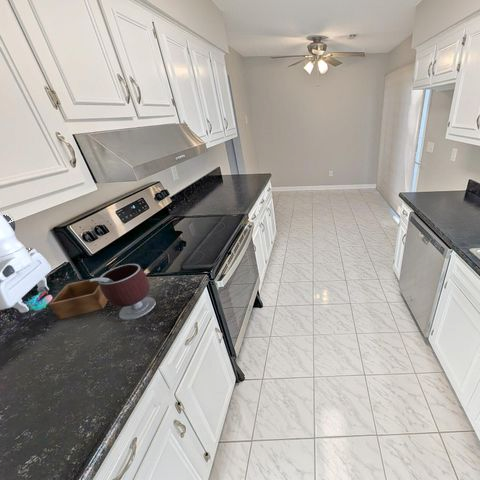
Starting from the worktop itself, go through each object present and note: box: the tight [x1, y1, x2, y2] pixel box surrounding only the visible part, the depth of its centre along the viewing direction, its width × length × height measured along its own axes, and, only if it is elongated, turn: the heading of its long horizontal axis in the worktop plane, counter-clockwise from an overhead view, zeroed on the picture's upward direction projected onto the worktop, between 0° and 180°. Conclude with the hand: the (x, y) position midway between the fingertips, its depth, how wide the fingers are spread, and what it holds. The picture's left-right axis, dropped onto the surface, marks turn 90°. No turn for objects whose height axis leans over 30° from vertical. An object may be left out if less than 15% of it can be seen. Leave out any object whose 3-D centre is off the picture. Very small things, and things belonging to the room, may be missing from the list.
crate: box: [48, 278, 109, 320], centre depth 104 cm, size 15×14×8 cm
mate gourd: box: [88, 263, 157, 321], centre depth 95 cm, size 16×14×20 cm
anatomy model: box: [22, 291, 53, 312], centre depth 75 cm, size 5×8×7 cm
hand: (36, 300), depth 75 cm, fingers closed on anatomy model, 7 cm apart
